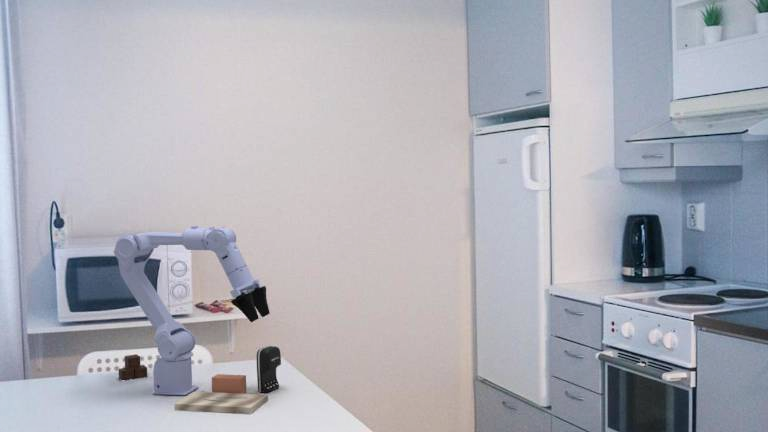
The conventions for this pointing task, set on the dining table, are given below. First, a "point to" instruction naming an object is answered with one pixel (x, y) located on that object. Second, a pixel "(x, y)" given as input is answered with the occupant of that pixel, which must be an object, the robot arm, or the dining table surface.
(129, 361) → the stack of crates
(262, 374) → the battery charger
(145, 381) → the dining table surface
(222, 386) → the block
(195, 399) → the board
